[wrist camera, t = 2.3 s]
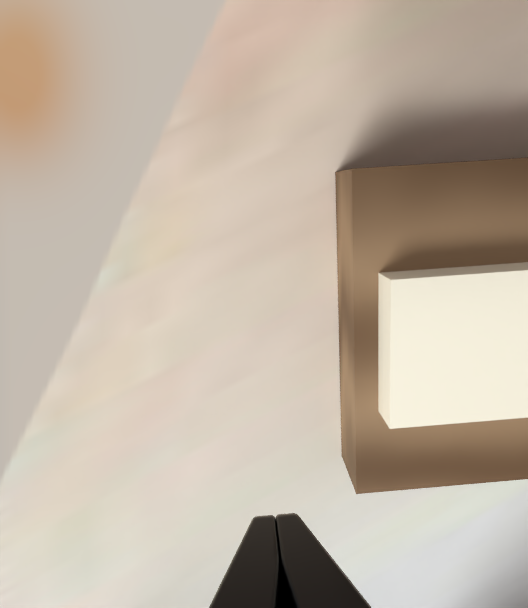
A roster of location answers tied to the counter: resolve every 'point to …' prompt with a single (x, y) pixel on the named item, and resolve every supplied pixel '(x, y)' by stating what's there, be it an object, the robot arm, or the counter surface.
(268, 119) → the counter surface
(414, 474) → the walnut deck
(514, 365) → the cream tile
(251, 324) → the counter surface
